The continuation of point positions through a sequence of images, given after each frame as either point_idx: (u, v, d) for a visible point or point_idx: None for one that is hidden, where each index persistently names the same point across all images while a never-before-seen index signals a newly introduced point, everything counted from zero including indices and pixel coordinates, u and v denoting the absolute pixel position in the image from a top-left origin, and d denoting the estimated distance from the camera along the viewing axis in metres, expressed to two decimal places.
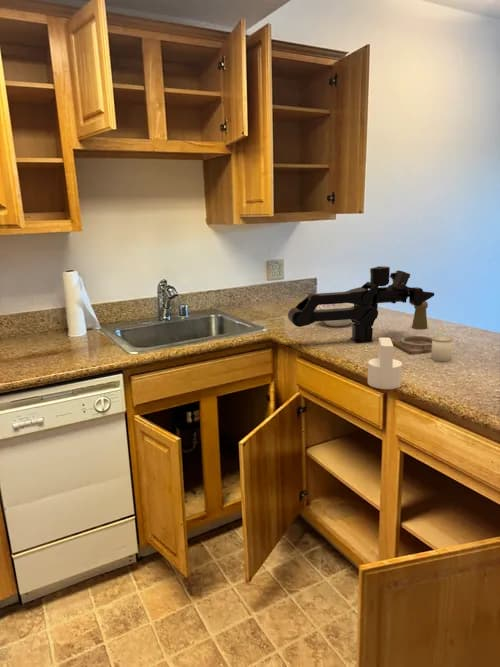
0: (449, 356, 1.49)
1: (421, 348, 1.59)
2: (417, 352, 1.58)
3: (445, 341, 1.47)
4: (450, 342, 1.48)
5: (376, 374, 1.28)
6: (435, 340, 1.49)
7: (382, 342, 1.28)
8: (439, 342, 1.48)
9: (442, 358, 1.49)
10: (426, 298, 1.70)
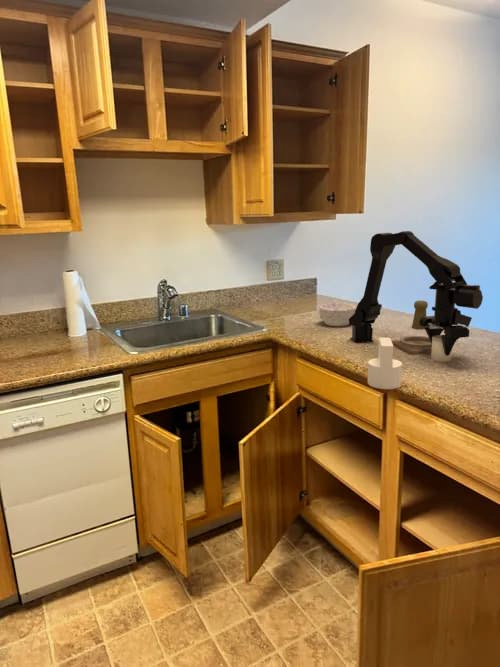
0: (449, 356, 1.49)
1: (421, 348, 1.59)
2: (417, 352, 1.58)
3: None
4: None
5: (376, 374, 1.28)
6: (435, 340, 1.49)
7: (382, 342, 1.28)
8: (439, 342, 1.48)
9: (442, 358, 1.49)
10: (446, 345, 1.46)
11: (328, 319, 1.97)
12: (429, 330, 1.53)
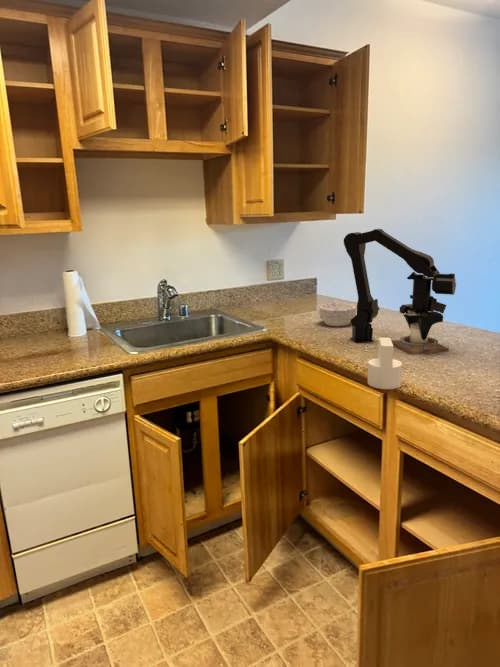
0: (426, 341, 1.62)
1: (421, 348, 1.59)
2: (417, 352, 1.58)
3: None
4: None
5: (376, 374, 1.28)
6: (413, 327, 1.62)
7: (382, 342, 1.28)
8: (417, 329, 1.61)
9: None
10: (423, 330, 1.59)
11: (328, 319, 1.97)
12: (408, 317, 1.66)
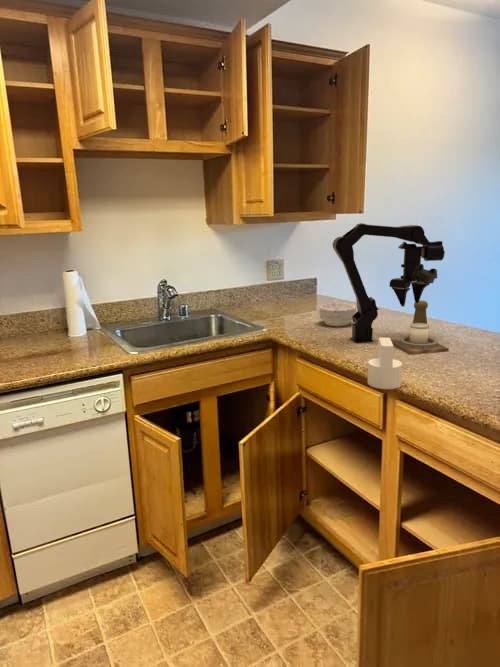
0: (410, 340, 1.64)
1: (421, 348, 1.59)
2: (417, 352, 1.58)
3: (410, 325, 1.65)
4: (411, 327, 1.63)
5: (376, 374, 1.28)
6: None
7: (382, 342, 1.28)
8: None
9: None
10: (398, 296, 1.69)
11: (328, 319, 1.97)
12: (412, 284, 1.76)
